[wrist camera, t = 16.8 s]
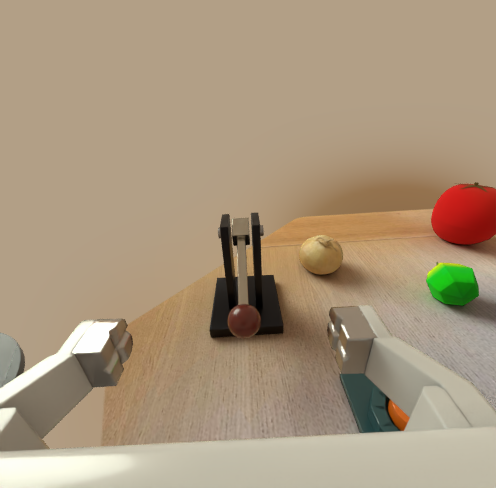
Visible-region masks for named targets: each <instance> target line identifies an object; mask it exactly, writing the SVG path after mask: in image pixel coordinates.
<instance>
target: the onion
mask: <svg viewBox="0 0 496 488" xmlns="http://www.w3.org/2000/svg"><path fill="white" fill-rule="evenodd" d="M299 259H300V262H301V264H302V265H303V266H304V268H306V269H307V270H308V271H310V272H312V273H315V274H329V273H332V272H334V271H336V270H337V269H338V268H339V267H340V265H341V263H342V260H343V251H342V248H341V246H340V245H339V243H338V242H337V241H335V240H334V239H332V238H330V237H328V236H325V235H320V236H315V237H312V238H309V239H308V240H306V241H305V242H304V243H303V244H302V246H301V248H300V251H299Z"/></svg>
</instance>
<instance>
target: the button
mask: <svg viewBox="0 0 496 488" xmlns="http://www.w3.org/2000/svg"><path fill="white" fill-rule="evenodd" d="M388 411H389V415H390V417H391V419H392V421H393V422H394V424H395V425H396V426H397V427H398V428H399V430H401V431H404V430H405V427H406V425H407V423H408V421H409V418H410V417H408V416H407V415H406V414H405V413H404V412H403V411H402V410H401V409H400V408H399V407H398V406H397V405H396V404H395V403H394V402H393V401H392V400H391V399H390V400H389V403H388Z"/></svg>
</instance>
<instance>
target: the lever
mask: <svg viewBox="0 0 496 488" xmlns="http://www.w3.org/2000/svg"><path fill="white" fill-rule="evenodd" d="M232 238H233V244H234V246H237V265H238V305H237V306H235V307H234V308H233V309H232V310H231V311H230V313H229V315H228V321H227V322H228V327H229V330H230V331H231V333H232V334H233V335H235V336H236V337H238V338H242V339H246V338H250V337H252V336H254V335H255V334H256V333H257V332H258V330H259V328H260V324H261V318H260V314H259V312H258V311H257V309H256V308H255V307H253V306H251V305H249V304H248V283H247V262H246V245H249V244H250V238H249V221H248V218H238V219H232Z"/></svg>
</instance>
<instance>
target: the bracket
mask: <svg viewBox="0 0 496 488" xmlns="http://www.w3.org/2000/svg"><path fill="white" fill-rule="evenodd" d="M251 225H252V245H253V265H254V276H247V283H248V304H249V305H251V306H253V307H255V308H256V309H257V311H258V312H259V314H260V318H261V324H260V328H259V330H258V332H257V333H256V334H255V335H263V334H281V333H283V322H282V317H281V311H280V306H279V301H278V296H277V291H276V286H275V281H274V276H273V275H262V269H261V238H260V236H263V235H264V233H263V225H261V226H260V222H259V216H258V213H251ZM218 236H219V238H221V242H222V250H223V259H224V268H225V277H226V278H217V283H216V290H215V297H214V303H213V310H212V317H211V324H210V335H211V337H227V336H235V335H233V334H232V333H231V331H230V330H229V327H228V322H227V321H228V315H229V313H230V311H231V310H232V309H233V308H234V307H235V306H237V305H238V277H235V270H234V259H233V248H232V237H231V227H230V216H229V214H225V215H222V219H221V224H220V228H218Z"/></svg>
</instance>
